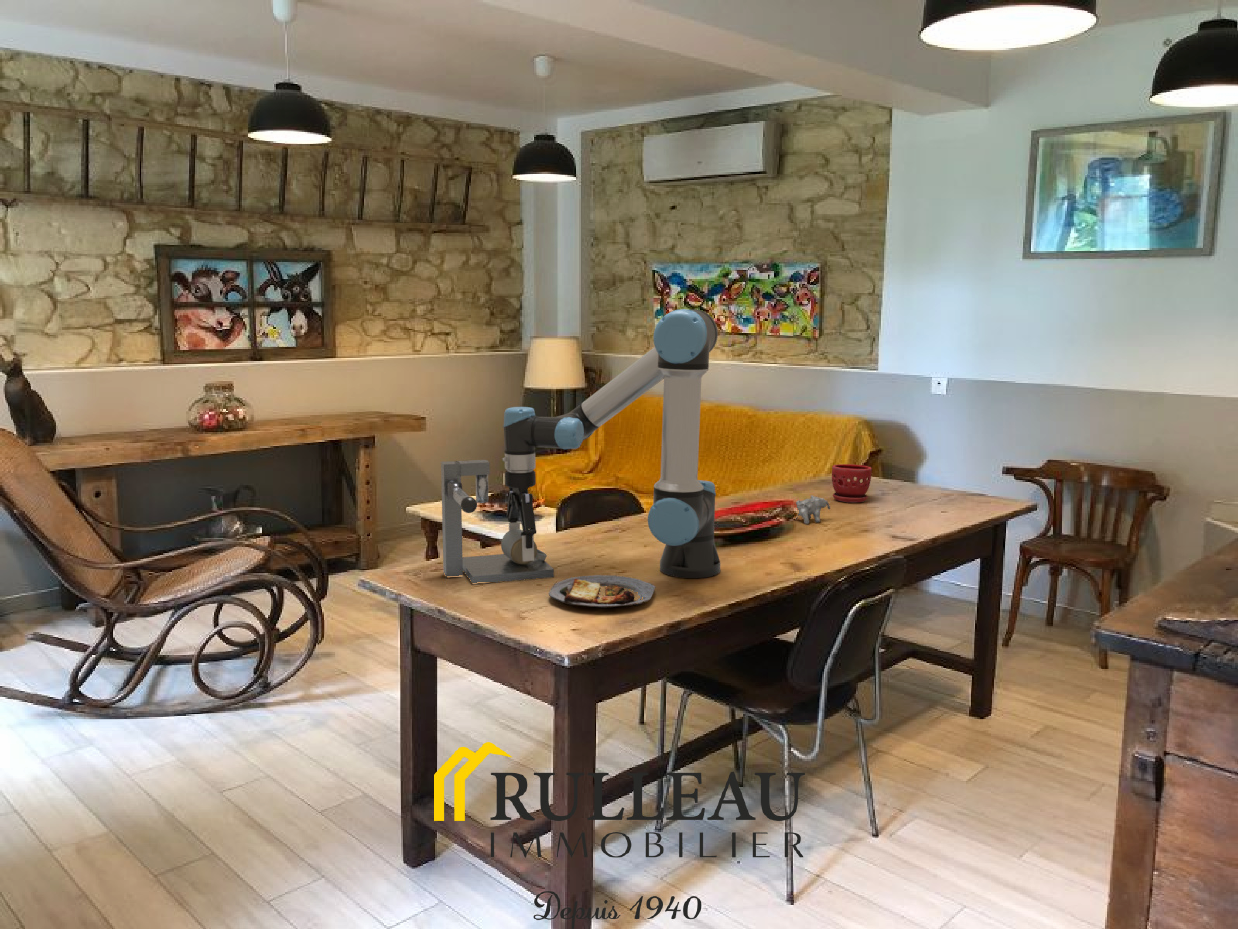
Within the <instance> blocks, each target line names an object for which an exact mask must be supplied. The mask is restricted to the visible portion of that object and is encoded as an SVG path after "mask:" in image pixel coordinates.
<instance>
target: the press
mask: <svg viewBox="0 0 1238 929" xmlns="http://www.w3.org/2000/svg"><path fill="white" fill-rule="evenodd" d="M490 469H491V467H490V461H489V460H487V459H477V460H476V459H475V460H474V459H471V460H455V461H454V460H453V461H452V460H451V461H440V472H441V473H440V474H441V475H440V477H441V478H440V479H441V485H440V486H441V518H442V519H441V521H442V523H441V524H442V527H441V528H442V562H443V564H442V567H443V574H444V573H445V575H446V577H447V576H459V575H463V576H464V574H465V573H466V575H467V576H468V578H470V580H471V582H472V583H477V582H496V583H501V582H500V581H507V582H515V581H514V580H518V581H526V579H529V580H535V579H536V578H540V579H548V578H549V579H551V578H554V577H555V569H554V568H553V567H552V566H551V565H550V564H549V563H548V562H547V561H546V559H545V560H544V561H542V560H538V559H536V558H535V559H534V561H532V562H530V563H528V564H525V565H520V564H517V563H515V562H513V561H512V560H511V559H510V558H508V557H507V556H506V555H505V554H504V553H501V554H500V553H498V554H490V555H489V554H486V555H474V556H464V557H463V523H462V522H463V516H462V511H463V510H462V509H461V506H460V505H459V504H458V502H457V501H456V500H455V499H451V500H449V499H448V496H447V483H452V482H461V483H462V477H470V476H475V500H476V502H477V504H485V503H489V475H490V474H491V470H490ZM463 571H464V572H465V573H464V572H463ZM466 575H465V576H466ZM467 576H466V577H467ZM446 577H445V578H446ZM468 578H467V579H468ZM524 579H525V580H524ZM470 580H469V581H470ZM512 580H513V581H512ZM536 580H537V579H536ZM498 581H499V582H498ZM471 582H470V583H471ZM472 583H471V584H472Z"/></svg>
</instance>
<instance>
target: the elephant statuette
mask: <svg viewBox="0 0 1238 929" xmlns="http://www.w3.org/2000/svg"><path fill="white" fill-rule="evenodd" d="M795 504H796V507H797V508H798V510H799V514H798V517H797V518H796V520H798V518H799V517H800V516H801V519H803V522H804V524H805V525H809V523H810V520H811V519H812V516H813V519H814V521H815V523H816V524H819V523H820V522H821V511H822V508H824V509H825V507H827V509H828V510H830V509H831V505H830V504H829V501H828V500H826V499H825V498H823V497H819V496H815V495H813V494H812V495H810V498H805V499H803V500H800V499H799V500H797V501H795ZM811 515H812V516H811Z"/></svg>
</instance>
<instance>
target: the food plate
mask: <svg viewBox="0 0 1238 929" xmlns="http://www.w3.org/2000/svg"><path fill="white" fill-rule="evenodd" d="M605 586H607V587H605ZM601 587H605V589H604V593H605V594H604V595H603V594H602V596H601V592H602V591H601V590H600V589H602V588H601ZM656 588H657V587H656V586H655V585H654V584H653V583H650V582H647V581H643V580H641V579H638V578H636V577H629V576H624V575H622V576H620V575H616V574H615V575H614V574H613V575H611V574H610V575H608V574H607V575H604V574H598V575H597V574H594V575H581V576H574V577H570V578H569V577H568V578H566V579H563V580H561V581H556V582H555V583H554V584H553V585H552V587H551V589H550V590H549V592H548V596H549V597H550V598H551V599H553V600H556V601H558V602H559V603H562V604H566V605H571V606H579V607H580V606H581V607H582V606H583V607H593V608H594V607H595V608H598V609H601V608H605V609H606V608H607V607H610V608H616V607H630V606H635V605H641V604H643V602H644V603H647V602H648V601H650V600H651V599H652V596H653V595H654V592H655V589H656ZM628 589H631V590H628ZM632 590H633V591H632ZM599 592H600V593H599ZM620 592H621V593H620ZM633 592H634V593H635V592H638V594H637V596H638V595H639V596H640V598H639V596H638V599H636V600H635V594H634V593H633ZM619 593H620V594H619ZM599 596H600V597H601V598H600V597H599ZM642 597H643V600H642ZM640 599H641V600H640ZM607 609H608V608H607Z"/></svg>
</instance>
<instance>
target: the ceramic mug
mask: <svg viewBox="0 0 1238 929" xmlns="http://www.w3.org/2000/svg"><path fill="white" fill-rule="evenodd" d="M521 532H523V529H521V528H520V529H513V530H510V531H509V530H508V531H507V532H506V533H505V534H504V535H503V536H502V538H501V541H500V547H501V548H500V549H501V551H502V554H505V555H506V556H507V557H508V558H510V559H511V560H512V561H513V562H515V563H517V564H520V565H525V564H528V563H530V562H532V561H522V536H521ZM547 556H548V555H547V553H545V552H544V551H542V550H540V549H538V546H537V544H536V542H535V541H534V559H535V558H536V559H538V560H542V561H544V560H545V561H546V558H547Z"/></svg>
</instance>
